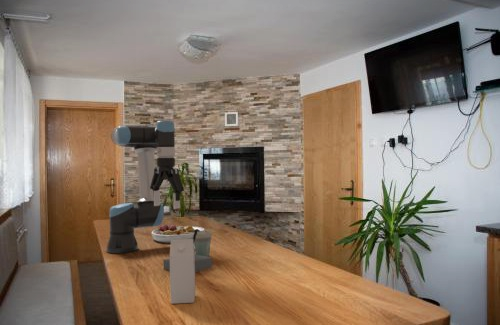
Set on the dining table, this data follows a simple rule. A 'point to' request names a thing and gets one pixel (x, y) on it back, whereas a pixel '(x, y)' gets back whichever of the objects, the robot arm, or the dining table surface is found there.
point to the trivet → (200, 263)
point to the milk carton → (182, 271)
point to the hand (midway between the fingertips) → (166, 207)
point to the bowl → (174, 233)
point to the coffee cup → (202, 243)
